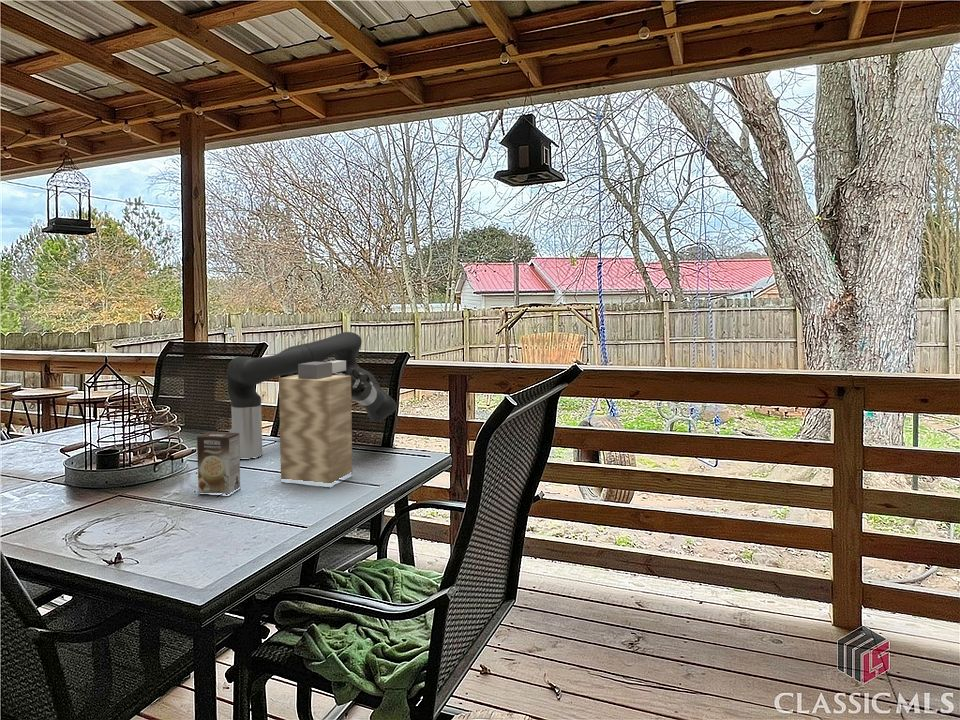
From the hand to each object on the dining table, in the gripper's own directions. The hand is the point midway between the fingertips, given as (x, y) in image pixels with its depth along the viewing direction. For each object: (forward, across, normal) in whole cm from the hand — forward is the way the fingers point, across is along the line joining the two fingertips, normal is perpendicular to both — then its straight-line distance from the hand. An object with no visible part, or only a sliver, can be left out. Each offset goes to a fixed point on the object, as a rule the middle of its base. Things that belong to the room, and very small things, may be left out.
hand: (339, 370), depth 186 cm
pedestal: (-4, 0, +33) cm, 33 cm away
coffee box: (+12, -18, +43) cm, 48 cm away
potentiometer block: (+6, 0, +4) cm, 8 cm away
